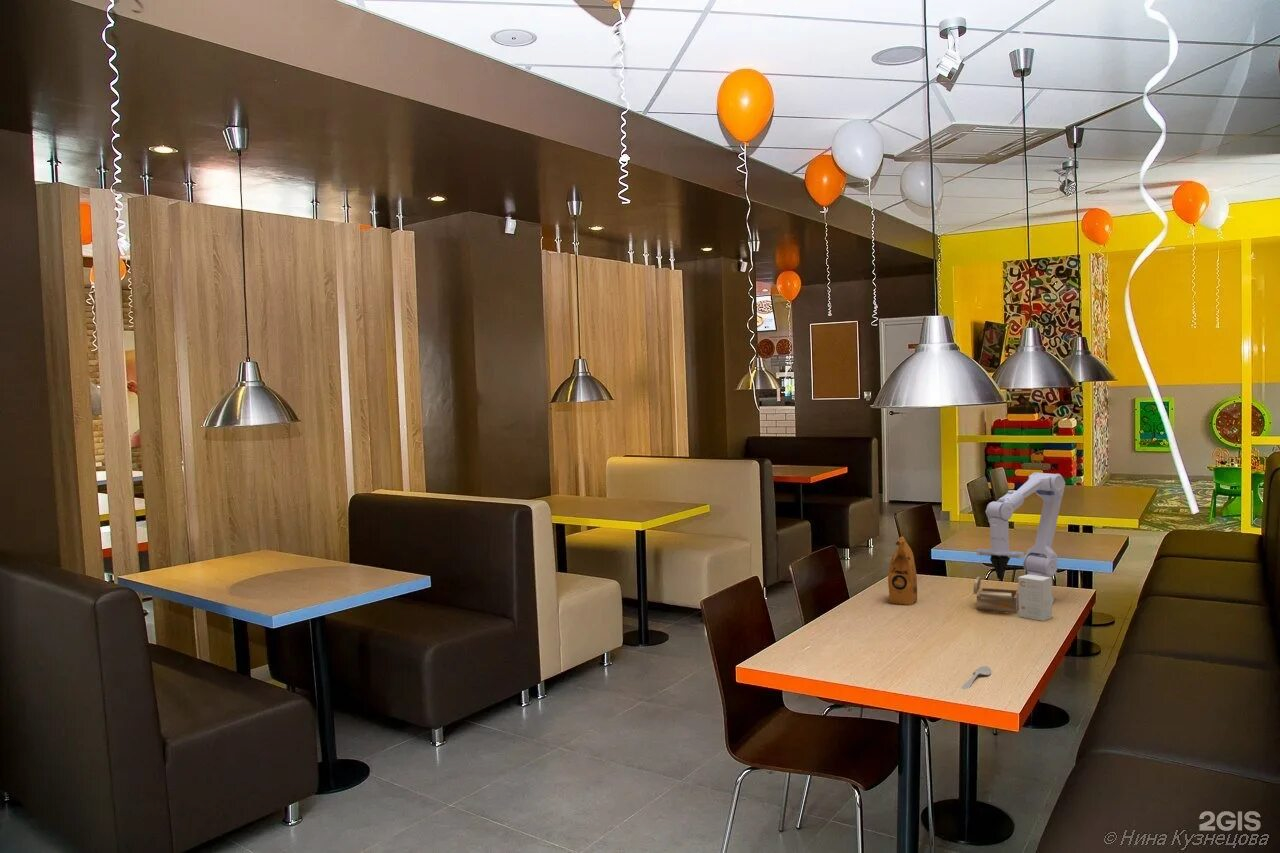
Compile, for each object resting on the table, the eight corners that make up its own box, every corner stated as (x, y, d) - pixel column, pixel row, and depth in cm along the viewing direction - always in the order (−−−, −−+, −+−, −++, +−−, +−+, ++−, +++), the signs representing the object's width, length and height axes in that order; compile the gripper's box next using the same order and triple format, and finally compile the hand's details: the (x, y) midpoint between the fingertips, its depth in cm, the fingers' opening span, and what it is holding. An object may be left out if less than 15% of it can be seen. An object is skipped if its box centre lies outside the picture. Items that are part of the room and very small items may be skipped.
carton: (981, 602, 300) (981, 587, 300) (1019, 605, 295) (1019, 590, 294) (976, 610, 290) (976, 595, 289) (1016, 613, 284) (1015, 598, 284)
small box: (1052, 617, 277) (1052, 577, 277) (1043, 621, 273) (1042, 580, 273) (1027, 613, 284) (1027, 573, 283) (1018, 617, 280) (1017, 576, 279)
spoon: (995, 673, 227) (994, 667, 227) (967, 695, 211) (967, 689, 211) (978, 670, 230) (978, 664, 230) (950, 692, 214) (950, 685, 214)
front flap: (979, 590, 286) (979, 593, 285) (1011, 593, 281) (1011, 595, 281) (981, 595, 289) (980, 598, 288) (1012, 598, 284) (1012, 601, 284)
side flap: (981, 576, 299) (977, 576, 299) (977, 582, 291) (974, 582, 291) (980, 588, 299) (977, 587, 300) (976, 594, 291) (973, 593, 291)
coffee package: (884, 604, 302) (883, 541, 301) (891, 596, 313) (890, 535, 312) (914, 606, 297) (913, 542, 296) (920, 598, 308) (918, 536, 308)
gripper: (973, 538, 291) (974, 578, 291) (1019, 541, 282) (1020, 582, 282) (979, 534, 296) (980, 574, 297) (1025, 537, 287) (1025, 578, 288)
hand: (1000, 578), depth 290 cm, fingers closed
